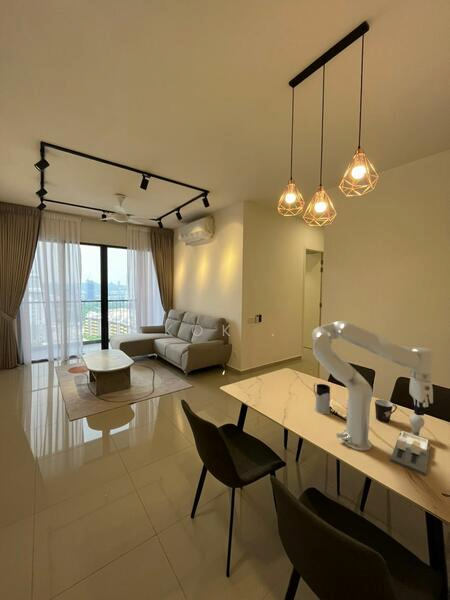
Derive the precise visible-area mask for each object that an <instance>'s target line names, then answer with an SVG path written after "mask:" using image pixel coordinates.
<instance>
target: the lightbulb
mask: <svg viewBox="0 0 450 600" xmlns="http://www.w3.org/2000/svg"><path fill="white" fill-rule="evenodd" d="M408 421H409V423H410V425H411V429H412V434H413V435H416V436H419V435H420V432H421V429H422V428H423V427H424V426H425V419H424V418H423V417H422V415H416V414H415V413H413V414H411V415H410V416H409V419H408ZM419 437H420V436H419Z"/></svg>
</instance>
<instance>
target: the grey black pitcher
mask: <svg viewBox="0 0 450 600" xmlns="http://www.w3.org/2000/svg"><path fill="white" fill-rule="evenodd" d="M313 393H314V397H315V407H314V411H315V412H316V413H318V414H321V415H329V414H331V410H330V409H331V407H330V406H331V386H329V385H327V384H324V383H317V382H315V383H313Z"/></svg>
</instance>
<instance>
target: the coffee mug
mask: <svg viewBox="0 0 450 600" xmlns="http://www.w3.org/2000/svg"><path fill="white" fill-rule="evenodd" d="M393 406H395V408H394V410H393ZM374 407H375V408H374V409H375V410H374V411H375V418H376V420H377V421H379V422H381V423H383V424H389V423H390V420H391V416H392V414H393V413H395V412H396V410H397V408H398V407H397V405H396V404H394V403H392V402H391V401H389V400H386V399H382V398H381V399H380V398H376V399H374Z"/></svg>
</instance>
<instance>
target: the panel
mask: <svg viewBox="0 0 450 600" xmlns="http://www.w3.org/2000/svg"><path fill="white" fill-rule="evenodd" d="M401 433H402V432H399V435H398V438H399V436H401ZM398 438H397V441H396V442H395V446H394V448H393V451H392V454H391V456H390V458H389V459H390V462H391V463H393V464H396V465H399V466H400V467H403V468H406V469H407V470H410V471H413V472H415V473H417V474H420V475H422V476H425V477H426V476H427V471H428V470H427V469H428V462H429V457H430V456H429V455H430V450H431V442H429V441H428V445H427V451H426V453H424V452H422V451H420V454H419V455H418V454H415V453H412V452H411V447H408V446H406V450H405V451H404V450H402V449H399V448H397V444H398Z"/></svg>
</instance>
